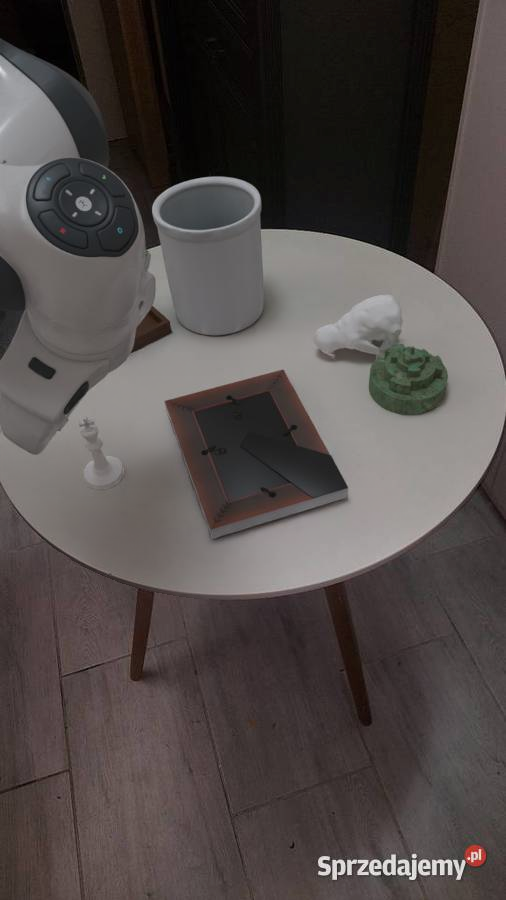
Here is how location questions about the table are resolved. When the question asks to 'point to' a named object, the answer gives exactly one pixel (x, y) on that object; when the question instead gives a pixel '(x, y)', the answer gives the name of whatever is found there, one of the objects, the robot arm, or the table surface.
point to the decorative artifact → (407, 380)
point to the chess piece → (99, 460)
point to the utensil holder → (212, 253)
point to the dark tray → (151, 329)
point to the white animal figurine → (363, 327)
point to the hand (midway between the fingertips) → (83, 387)
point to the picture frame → (253, 453)
